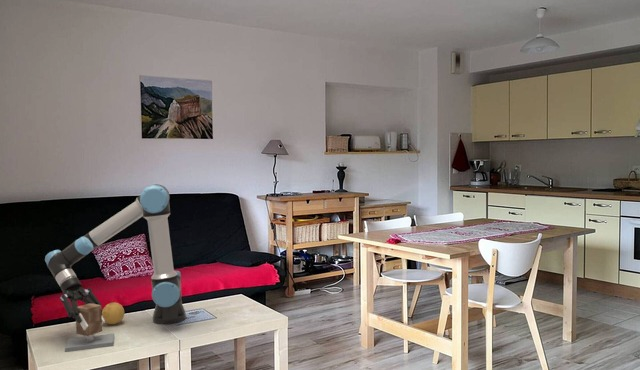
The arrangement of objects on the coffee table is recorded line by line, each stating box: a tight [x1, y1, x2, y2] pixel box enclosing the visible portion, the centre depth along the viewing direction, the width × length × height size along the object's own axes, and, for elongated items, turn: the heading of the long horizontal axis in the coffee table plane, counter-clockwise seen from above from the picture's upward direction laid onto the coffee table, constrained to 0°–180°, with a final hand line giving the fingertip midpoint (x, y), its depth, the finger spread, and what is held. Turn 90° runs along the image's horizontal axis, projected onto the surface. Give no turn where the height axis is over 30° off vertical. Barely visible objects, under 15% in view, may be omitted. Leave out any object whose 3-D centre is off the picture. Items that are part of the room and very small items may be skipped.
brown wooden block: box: [75, 303, 103, 337], centre depth 221 cm, size 7×7×11 cm
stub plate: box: [64, 333, 115, 353], centre depth 222 cm, size 18×12×8 cm, turn 109°
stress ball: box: [101, 302, 125, 325], centre depth 249 cm, size 10×10×10 cm
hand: (94, 325), depth 219 cm, fingers closed on brown wooden block, 7 cm apart
